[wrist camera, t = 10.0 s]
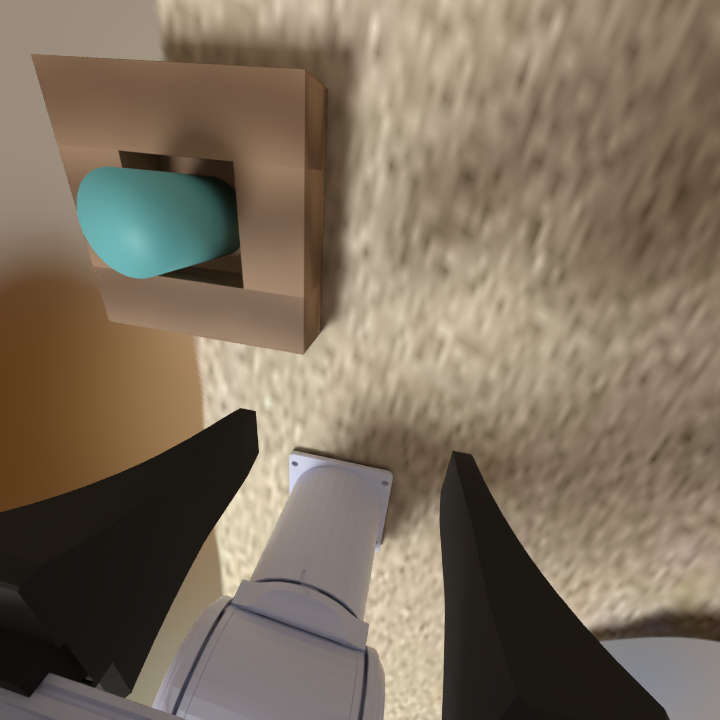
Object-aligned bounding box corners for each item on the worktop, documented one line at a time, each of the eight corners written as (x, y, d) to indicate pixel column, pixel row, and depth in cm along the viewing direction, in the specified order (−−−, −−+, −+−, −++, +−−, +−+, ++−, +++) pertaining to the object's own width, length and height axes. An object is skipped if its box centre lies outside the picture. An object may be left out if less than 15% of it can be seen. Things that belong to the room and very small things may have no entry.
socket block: (320, 333, 21) (303, 354, 18) (147, 305, 22) (109, 321, 20) (327, 89, 15) (304, 69, 12) (94, 74, 17) (30, 54, 14)
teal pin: (248, 261, 19) (177, 287, 14) (183, 249, 19) (89, 268, 14) (247, 182, 17) (165, 175, 12) (175, 170, 17) (64, 158, 12)
